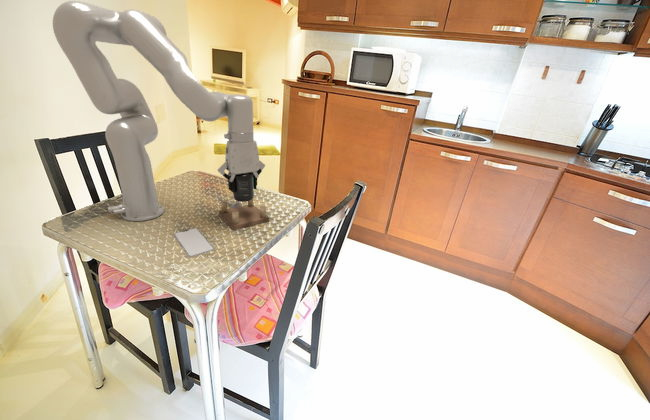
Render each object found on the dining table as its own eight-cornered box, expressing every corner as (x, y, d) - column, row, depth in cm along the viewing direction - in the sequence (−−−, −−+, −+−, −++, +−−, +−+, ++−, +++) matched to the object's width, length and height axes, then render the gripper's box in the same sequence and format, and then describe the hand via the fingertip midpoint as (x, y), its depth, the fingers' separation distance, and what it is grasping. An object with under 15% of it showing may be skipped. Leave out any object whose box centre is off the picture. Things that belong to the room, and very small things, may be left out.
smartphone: (189, 257, 80) (172, 233, 90) (189, 259, 81) (172, 235, 90) (215, 249, 85) (197, 227, 95) (215, 251, 85) (197, 229, 95)
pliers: (236, 190, 125) (259, 207, 112) (236, 192, 125) (259, 209, 112) (213, 194, 119) (235, 213, 106) (214, 196, 119) (235, 215, 106)
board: (233, 230, 96) (232, 215, 93) (218, 214, 105) (217, 200, 102) (269, 221, 103) (269, 207, 101) (252, 207, 112) (252, 194, 110)
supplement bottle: (257, 196, 103) (257, 163, 98) (245, 203, 97) (244, 169, 92) (241, 192, 105) (240, 160, 100) (229, 199, 99) (226, 164, 94)
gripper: (218, 141, 84) (222, 198, 92) (271, 137, 94) (271, 189, 102) (209, 136, 89) (213, 190, 97) (260, 133, 100) (261, 182, 107)
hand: (243, 189), depth 99 cm, fingers closed on supplement bottle, 6 cm apart
